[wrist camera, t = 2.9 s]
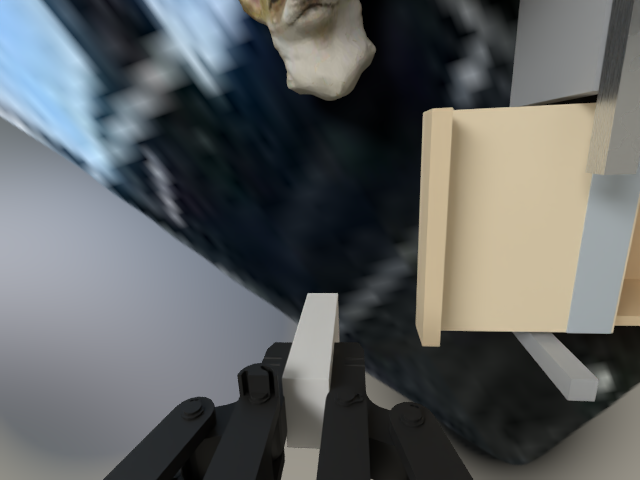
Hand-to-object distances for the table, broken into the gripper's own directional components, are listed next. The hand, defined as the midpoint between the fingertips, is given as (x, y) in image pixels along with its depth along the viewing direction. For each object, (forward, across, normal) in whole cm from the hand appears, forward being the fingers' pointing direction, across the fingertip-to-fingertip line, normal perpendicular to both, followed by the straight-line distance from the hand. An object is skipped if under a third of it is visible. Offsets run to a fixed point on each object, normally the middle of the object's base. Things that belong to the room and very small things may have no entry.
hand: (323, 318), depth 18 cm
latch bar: (+6, +16, +12) cm, 21 cm away
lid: (+10, +13, +2) cm, 17 cm away
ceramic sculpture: (+19, -2, +19) cm, 26 cm away
